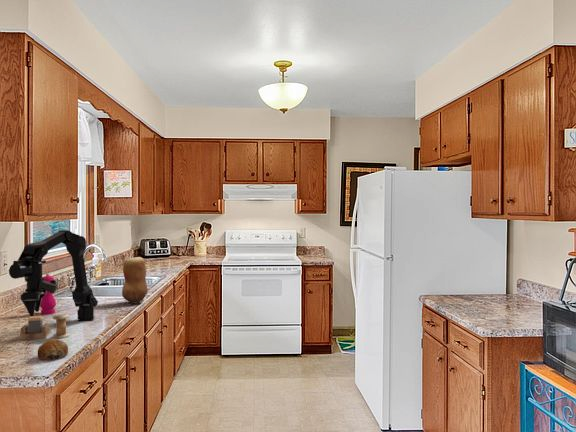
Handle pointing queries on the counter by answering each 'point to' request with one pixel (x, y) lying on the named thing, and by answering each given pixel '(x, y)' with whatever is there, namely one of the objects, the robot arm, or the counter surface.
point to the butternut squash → (134, 280)
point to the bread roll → (52, 350)
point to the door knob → (61, 326)
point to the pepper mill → (48, 299)
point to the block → (34, 324)
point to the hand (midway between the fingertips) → (34, 313)
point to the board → (44, 333)
